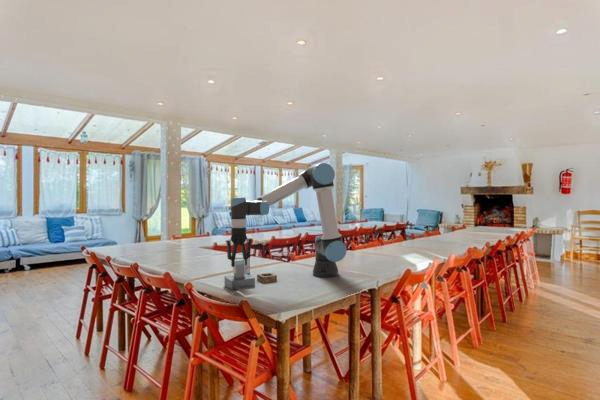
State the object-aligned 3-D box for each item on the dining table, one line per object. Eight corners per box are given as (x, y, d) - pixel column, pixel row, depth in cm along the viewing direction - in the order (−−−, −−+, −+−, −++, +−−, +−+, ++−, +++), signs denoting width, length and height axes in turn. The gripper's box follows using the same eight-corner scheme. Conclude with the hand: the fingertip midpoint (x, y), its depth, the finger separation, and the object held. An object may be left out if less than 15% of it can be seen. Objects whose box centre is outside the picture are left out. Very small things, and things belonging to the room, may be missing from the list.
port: (246, 282, 187) (246, 273, 187) (254, 287, 177) (254, 277, 177) (224, 285, 181) (224, 275, 181) (232, 291, 171) (232, 280, 171)
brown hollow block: (270, 279, 193) (270, 272, 193) (276, 282, 186) (276, 275, 186) (257, 281, 189) (257, 274, 189) (263, 284, 182) (263, 277, 182)
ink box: (250, 276, 202) (250, 256, 202) (247, 278, 197) (246, 257, 197) (237, 275, 204) (237, 255, 204) (233, 277, 199) (233, 257, 199)
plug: (241, 281, 182) (241, 258, 182) (244, 283, 178) (244, 260, 178) (234, 282, 180) (233, 259, 179) (236, 284, 176) (236, 260, 176)
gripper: (251, 225, 186) (251, 269, 186) (220, 227, 177) (220, 272, 178) (257, 226, 180) (257, 271, 180) (224, 228, 171) (225, 275, 171)
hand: (239, 272), depth 179 cm, fingers closed on plug, 4 cm apart
